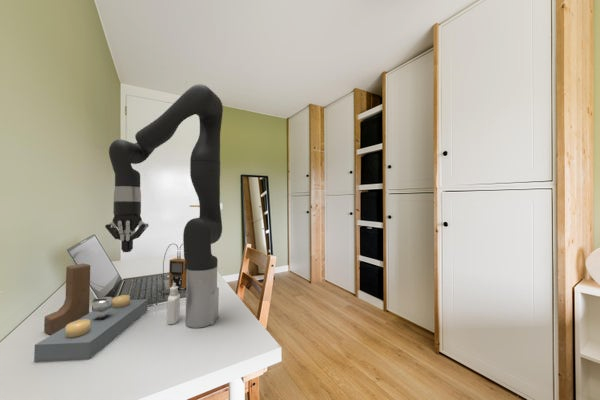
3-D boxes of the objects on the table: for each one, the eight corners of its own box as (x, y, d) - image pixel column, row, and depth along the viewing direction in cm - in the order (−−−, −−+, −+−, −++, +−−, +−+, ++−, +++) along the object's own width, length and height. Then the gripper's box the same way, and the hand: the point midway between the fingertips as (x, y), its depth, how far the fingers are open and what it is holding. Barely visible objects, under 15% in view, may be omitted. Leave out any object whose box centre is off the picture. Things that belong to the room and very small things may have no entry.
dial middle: (115, 317, 72) (116, 295, 72) (104, 324, 67) (105, 301, 68) (99, 317, 72) (100, 296, 72) (87, 325, 67) (88, 302, 67)
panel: (147, 310, 83) (147, 299, 83) (89, 359, 57) (89, 342, 57) (110, 312, 82) (110, 300, 82) (34, 361, 56) (34, 344, 56)
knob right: (132, 313, 80) (132, 294, 81) (123, 319, 76) (124, 300, 76) (117, 313, 80) (118, 295, 80) (108, 320, 75) (108, 300, 76)
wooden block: (49, 335, 67) (51, 271, 67) (43, 331, 69) (45, 269, 69) (89, 321, 75) (91, 264, 75) (82, 318, 77) (84, 263, 77)
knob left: (94, 341, 64) (94, 318, 64) (80, 352, 59) (80, 327, 59) (75, 342, 63) (76, 319, 63) (59, 353, 58) (60, 328, 59)
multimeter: (148, 295, 97) (149, 246, 98) (165, 286, 107) (166, 242, 108) (180, 297, 95) (181, 247, 95) (195, 289, 105) (196, 243, 105)
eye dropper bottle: (185, 317, 78) (186, 281, 79) (172, 325, 73) (173, 286, 73) (174, 315, 79) (175, 279, 80) (160, 324, 74) (161, 285, 74)
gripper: (153, 200, 85) (153, 249, 84) (114, 200, 83) (113, 250, 83) (142, 200, 77) (141, 253, 77) (98, 200, 76) (97, 254, 75)
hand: (126, 251), depth 80 cm, fingers closed
